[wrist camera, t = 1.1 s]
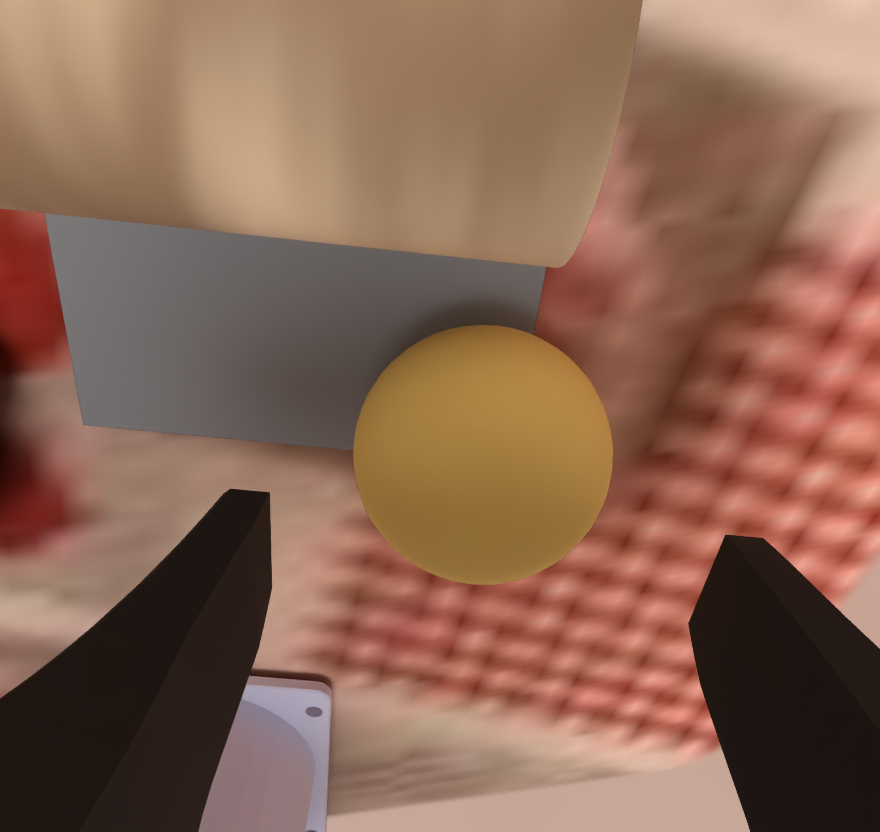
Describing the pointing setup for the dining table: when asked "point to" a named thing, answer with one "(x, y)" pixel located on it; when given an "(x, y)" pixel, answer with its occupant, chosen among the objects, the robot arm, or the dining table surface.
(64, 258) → the grey board
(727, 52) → the dining table surface
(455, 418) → the ball
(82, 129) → the roller
